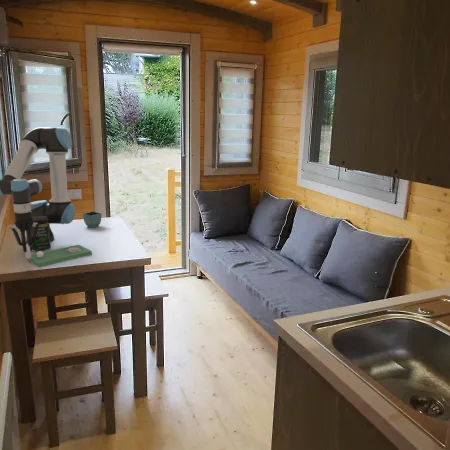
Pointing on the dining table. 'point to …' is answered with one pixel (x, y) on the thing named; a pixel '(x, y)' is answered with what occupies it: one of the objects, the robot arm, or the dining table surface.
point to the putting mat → (60, 255)
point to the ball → (39, 254)
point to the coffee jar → (41, 234)
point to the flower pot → (92, 219)
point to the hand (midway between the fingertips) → (28, 257)
